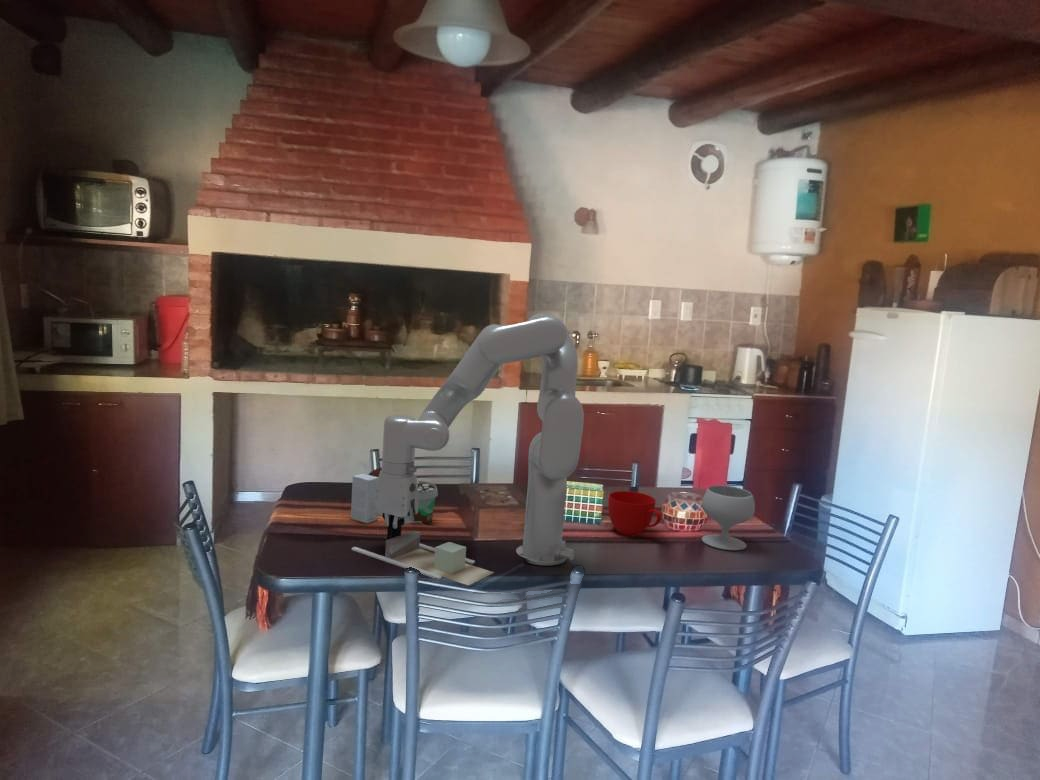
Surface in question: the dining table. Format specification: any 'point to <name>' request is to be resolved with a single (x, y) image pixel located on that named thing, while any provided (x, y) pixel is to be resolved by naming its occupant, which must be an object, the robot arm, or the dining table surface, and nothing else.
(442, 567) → the block
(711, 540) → the chalice
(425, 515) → the food container
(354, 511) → the skincare box
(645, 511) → the ceramic cup
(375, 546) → the dining table surface
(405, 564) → the lane rails
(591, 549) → the dining table surface
